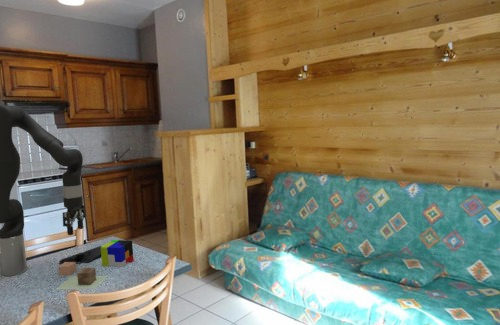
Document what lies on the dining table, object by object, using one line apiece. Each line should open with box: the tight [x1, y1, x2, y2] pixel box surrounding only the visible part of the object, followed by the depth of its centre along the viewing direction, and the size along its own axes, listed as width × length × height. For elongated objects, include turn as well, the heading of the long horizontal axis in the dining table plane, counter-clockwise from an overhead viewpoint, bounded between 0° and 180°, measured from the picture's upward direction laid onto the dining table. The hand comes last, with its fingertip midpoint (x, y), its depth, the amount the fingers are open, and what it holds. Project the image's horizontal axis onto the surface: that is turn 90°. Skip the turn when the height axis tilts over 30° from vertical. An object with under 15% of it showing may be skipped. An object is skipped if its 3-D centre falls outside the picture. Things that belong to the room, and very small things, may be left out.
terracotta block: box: [57, 262, 77, 276], centre depth 156 cm, size 5×5×5 cm
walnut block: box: [76, 267, 97, 285], centre depth 146 cm, size 5×5×5 cm
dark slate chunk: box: [58, 245, 103, 265], centre depth 176 cm, size 15×22×5 cm
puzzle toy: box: [100, 239, 135, 267], centre depth 166 cm, size 10×10×10 cm
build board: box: [55, 275, 108, 291], centre depth 146 cm, size 16×12×1 cm
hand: (75, 231), depth 156 cm, fingers open, 8 cm apart
